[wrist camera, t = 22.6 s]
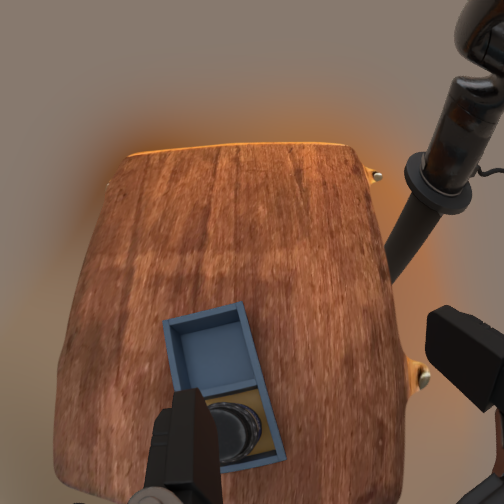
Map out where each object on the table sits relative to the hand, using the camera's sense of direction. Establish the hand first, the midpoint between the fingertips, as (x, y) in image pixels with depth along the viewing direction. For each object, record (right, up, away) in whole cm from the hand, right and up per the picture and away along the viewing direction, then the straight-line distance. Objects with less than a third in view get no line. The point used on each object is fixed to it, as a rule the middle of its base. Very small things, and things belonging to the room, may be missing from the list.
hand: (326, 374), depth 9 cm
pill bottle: (-4, -16, +21) cm, 27 cm away
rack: (-5, -13, +24) cm, 28 cm away
